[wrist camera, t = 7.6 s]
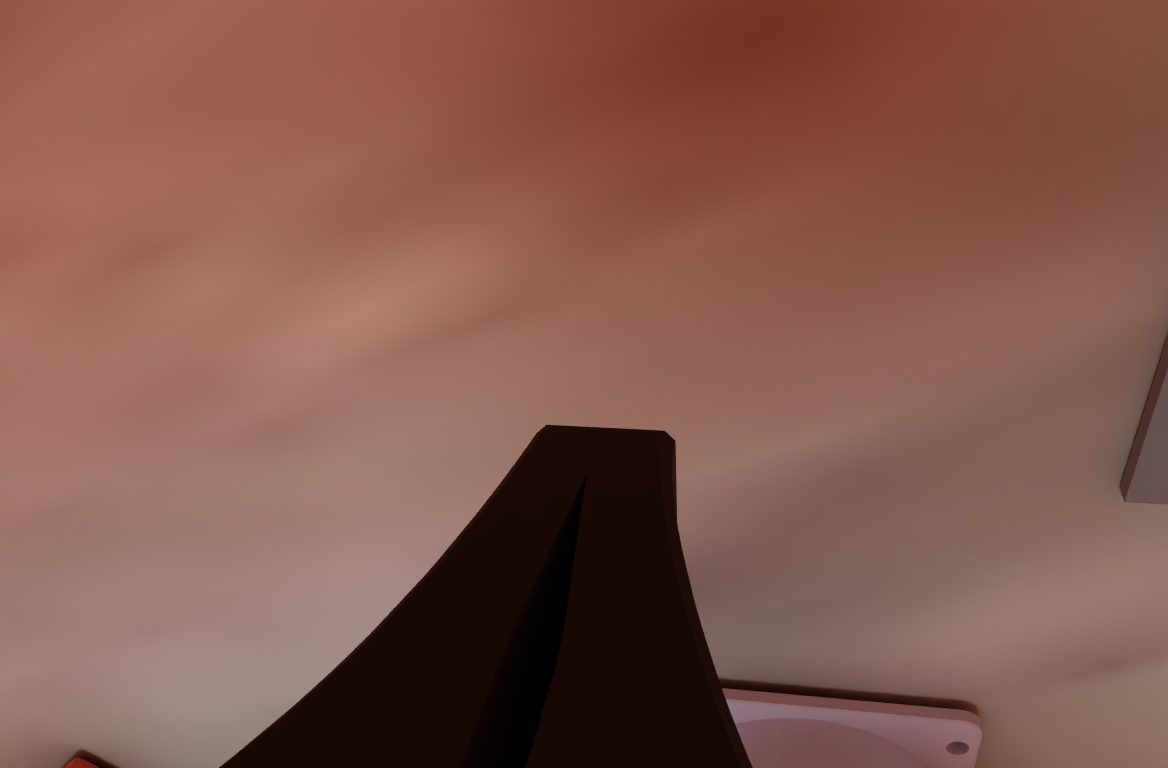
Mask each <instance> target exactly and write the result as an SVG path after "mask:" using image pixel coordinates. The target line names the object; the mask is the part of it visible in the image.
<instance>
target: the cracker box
mask: <svg viewBox="0 0 1168 768" xmlns="http://www.w3.org/2000/svg"><path fill="white" fill-rule="evenodd" d="M64 768H100V767H98V766H96V765H94V764H92V763H90V762H88V761H86V760H83V759H80V758H75V759H73V760H72V761H71V762H69V763H68V764H67V765H66V766H65V767H64Z"/></svg>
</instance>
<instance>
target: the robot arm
mask: <svg viewBox="0 0 1168 768" xmlns="http://www.w3.org/2000/svg"><path fill="white" fill-rule="evenodd" d="M982 736H983V735H982V727H981V721H980V719H979V718H978V716H977V715H975V714H973V713H971V712H969V711H965V710H959V709H948V708H937V707H926V706H915V705H904V704H892V703H881V702H870V701H859V700H848V699H837V698H826V697H815V696H804V695H793V694H782V693H771V692H760V691H748V690H737V689H726V688H722V687H721V684H720V682H719V679H718V676H717V673H716V670H715V667H714V664H713V661H712V658H711V655H710V651H709V648H708V645H707V642H706V639H705V636H704V632H703V629H702V626H701V623H700V619H699V615H698V612H697V608H696V605H695V601H694V598H693V594H692V589H691V585H690V581H689V577H688V573H687V568H686V564H685V560H684V556H683V551H682V547H681V542H680V536H679V531H678V525H677V497H676V445H675V440H674V439H673V438H672V437H671V436H670V435H669V434H667V433H666V432H665V431H659V430H639V429H619V428H599V427H579V426H559V425H546V426H545V427H543V428H542V429H541V430H540V431H539V432H537V433H536V435H535V436H534V438H533V439H532V441H531V442H530V443H529V445H528V446H527V448H526V449H525V450H524V452H523V453H522V455H521V456H520V457H519V459H518V460H517V462H516V463H515V464H514V466H513V467H512V468H511V470H510V471H509V472H508V474H507V475H506V477H505V478H504V479H503V480H502V482H501V483H500V484H499V486H498V487H497V488H496V490H495V491H494V492H493V494H492V495H491V496H490V497H489V499H488V500H487V501H486V503H485V504H484V505H483V506H482V508H481V509H480V510H479V512H478V513H477V514H476V515H475V517H474V518H473V519H472V520H471V521H470V523H469V524H468V525H467V526H466V527H465V529H464V530H463V531H462V532H461V533H460V535H459V536H458V537H457V538H456V539H455V541H454V542H453V543H452V544H451V545H450V547H449V548H448V549H447V550H446V551H445V553H444V554H443V555H442V556H441V557H440V559H439V560H438V561H437V562H436V563H435V564H434V566H433V567H432V568H431V569H430V570H429V571H428V572H427V574H426V575H425V576H424V577H423V578H422V579H421V580H420V581H419V582H418V583H417V584H416V586H415V587H414V588H413V589H412V590H411V591H410V592H409V593H408V594H407V595H406V596H405V597H404V598H403V599H402V601H401V602H400V603H399V604H398V605H397V606H396V607H395V608H394V609H393V610H392V611H391V612H390V613H389V614H388V616H387V617H386V618H385V619H384V620H383V621H382V622H381V623H380V624H379V625H378V626H377V627H376V628H375V629H374V630H373V631H372V632H371V634H370V635H369V636H368V637H367V638H366V639H365V640H364V641H362V642H361V643H360V644H359V645H358V646H357V647H356V648H355V649H354V650H353V651H352V652H351V653H350V654H349V655H348V656H347V657H346V658H345V659H344V660H343V661H342V662H341V663H340V664H339V665H338V666H337V667H336V668H335V669H334V670H333V671H332V672H330V673H329V674H328V675H327V676H326V677H325V678H324V679H323V680H322V681H321V682H320V683H318V684H317V685H316V686H315V687H314V688H313V689H312V690H311V691H310V692H309V693H307V694H306V695H305V696H304V697H303V698H302V699H301V700H300V701H299V702H297V703H296V704H295V705H294V706H293V707H292V708H291V709H290V710H288V711H287V712H286V713H285V714H284V715H282V716H281V717H280V718H279V719H278V720H276V721H275V722H274V723H273V724H272V725H270V726H269V727H268V728H267V729H266V730H264V731H263V732H262V733H261V734H260V735H258V736H257V737H256V738H255V739H254V740H252V741H251V742H250V743H249V744H248V745H246V746H245V747H244V748H243V749H242V750H240V751H239V752H238V753H237V754H236V755H234V756H233V757H232V758H231V759H229V760H228V761H227V762H226V763H224V764H223V765H222V766H220V767H219V768H974V767H975V763H976V759H977V755H978V751H979V748H980V744H981V740H982Z"/></svg>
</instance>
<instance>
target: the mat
mask: <svg viewBox="0 0 1168 768" xmlns="http://www.w3.org/2000/svg"><path fill="white" fill-rule="evenodd" d="M1120 490H1121V493H1122V496H1123V499H1124V501H1125V502H1136V503H1153V504H1168V337H1167V340H1166V343H1165V346H1164V349H1163V353H1162V356H1161V359H1160V362H1159V365H1158V368H1157V371H1156V375H1155V378H1154V381H1153V384H1152V387H1151V390H1150V394H1149V397H1148V400H1147V403H1146V406H1145V409H1144V412H1143V416H1142V419H1141V422H1140V425H1139V428H1138V431H1137V435H1136V438H1135V441H1134V444H1133V447H1132V450H1131V454H1130V457H1129V460H1128V463H1127V466H1126V469H1125V472H1124V476H1123V479H1122V482H1121V485H1120Z"/></svg>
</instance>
